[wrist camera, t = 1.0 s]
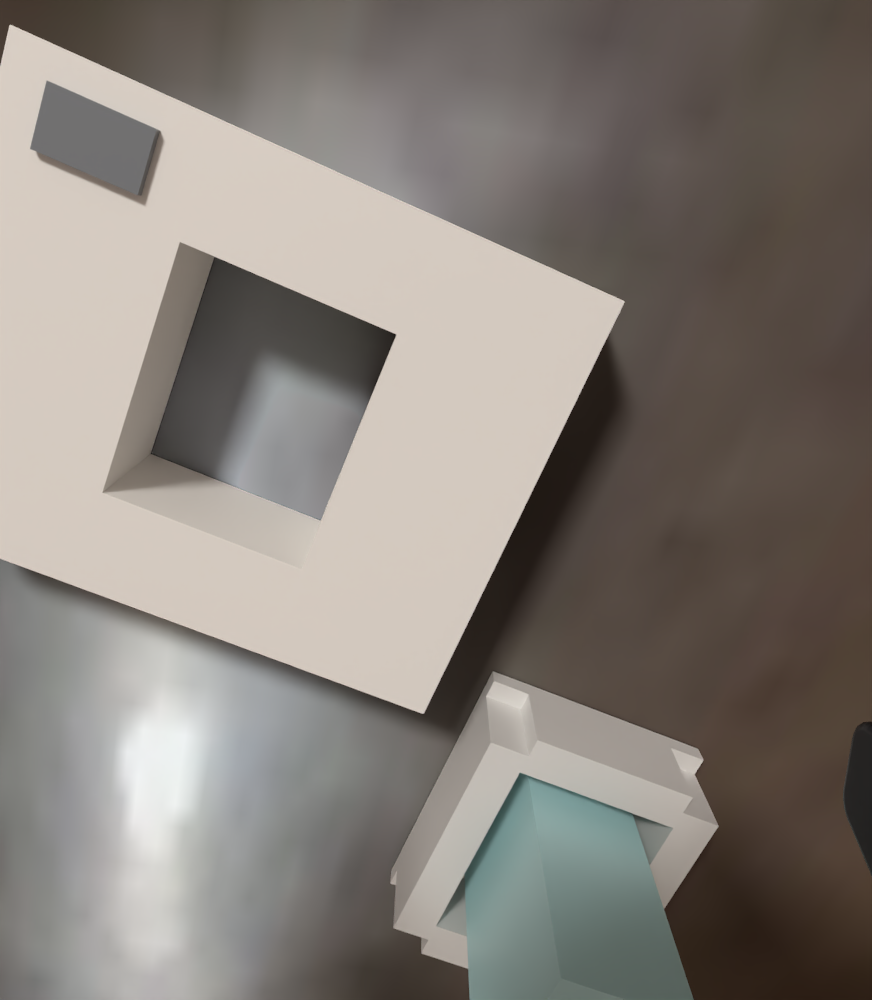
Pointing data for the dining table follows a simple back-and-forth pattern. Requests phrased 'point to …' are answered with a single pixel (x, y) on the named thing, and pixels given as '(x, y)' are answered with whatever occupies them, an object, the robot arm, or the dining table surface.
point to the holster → (556, 760)
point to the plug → (566, 905)
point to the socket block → (160, 346)
